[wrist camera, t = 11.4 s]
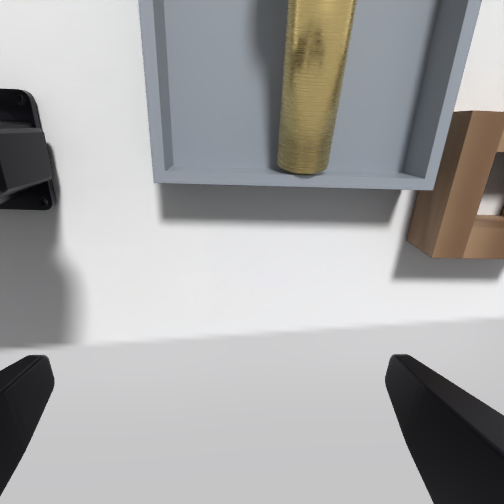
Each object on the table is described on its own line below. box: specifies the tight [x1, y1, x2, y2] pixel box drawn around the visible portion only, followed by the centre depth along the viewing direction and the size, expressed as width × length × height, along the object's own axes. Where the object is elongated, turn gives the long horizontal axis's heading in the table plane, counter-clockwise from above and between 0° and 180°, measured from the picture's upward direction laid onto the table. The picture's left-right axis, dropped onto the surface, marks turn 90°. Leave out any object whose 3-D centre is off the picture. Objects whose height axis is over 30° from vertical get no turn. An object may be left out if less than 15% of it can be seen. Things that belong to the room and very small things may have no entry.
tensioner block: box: [407, 111, 504, 259], centre depth 19 cm, size 8×8×3 cm
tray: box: [138, 0, 482, 190], centre depth 15 cm, size 15×13×3 cm
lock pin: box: [277, 0, 357, 174], centre depth 13 cm, size 4×4×12 cm
